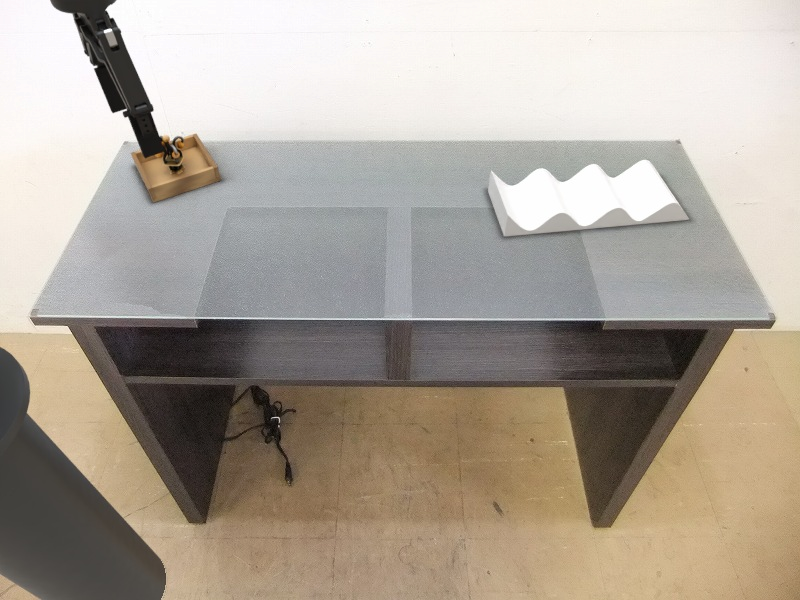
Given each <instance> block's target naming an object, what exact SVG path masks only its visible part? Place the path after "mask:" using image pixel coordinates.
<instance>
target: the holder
mask: <svg viewBox="0 0 800 600" xmlns="http://www.w3.org/2000/svg"><path fill="white" fill-rule="evenodd" d="M182 137H183V139H184V142H183V143H184V148H182V149H180V148H178V147H177V143H178V142H180V141H181V139H180V138H179V139H177V140H176V141H175V146H176V148H177V149H179V150H180V151H181V152H182V155H184V159H183V161H182V165H183V166H185V168H184V169H181V170H182V171H183V172H182V173H180V174H178V173H177V172H175V173H173V174H171V173H169V170H170V168H169V166H164V165H163V163H164V162H163V156H164V152H162V157H161V158H156V156H155V155H153V156H150V157H148V158H144V156H143V154H142V152H141V149H139V150H135V151H132V152H130V154H131V158H132V160H133V163H134V165H135V168H136V170H137V172H138V174H139V175H140V178H141V179H142V182H143V184H144V186H145V188H146V191H147V192H148V194H149V196H150V199H151V201H152V203H156V202H159V201H160V202H161V201H163V200H167V199H169V198H172V197H176V196H178V195H181V194H185V193H187V192H190V191H193V190H194V191H195V190H197V189H200V188H203V187H206V186H209V185H212V184H215V183H218V182H221V181H222V178H221V174H220V171H219V167H218V165H217V163H216V161H215V160H214V159H213V157H212V156H211V154H210V153H209V151H208V149H207V148H206V146H205V145H204V143H203V142H202V140H201V138H200V137H199V134H197V133H193V134H190V135H187V136H182ZM172 142H173V140H170V141H169V144H170V145H173V144H172ZM166 150H167V149H166ZM173 151H174V149H173ZM169 153H170V152H169ZM178 153H179V152H178ZM179 155H180V153H179ZM167 156H168V155H167ZM167 156H166V157H167Z"/></svg>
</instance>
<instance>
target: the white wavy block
mask: <svg viewBox="0 0 800 600" xmlns="http://www.w3.org/2000/svg"><path fill="white" fill-rule="evenodd" d="M487 193H488V195H489V198H490V201H491V203H492V208H493V209H494V213H495V216H496V218H497V221H498V223H499V227H500V230H501V232H502V235H503V237H514V236H515V237H516V236H525V235H527V236H528V235H537V234H548V233H558V232H569V231H570V232H571V231H581V230H592V229H603V228H612V227H613V228H614V227H615V228H616V227H624V226H625V227H626V226H635V225H645V224H646V225H647V224H657V223H659V224H660V223H666V222H667V223H668V222H681V221H689V220H690V218H689V217H688V215H687V212H685V209H683V207H682V205H680V203H679V201H678V200H677V199H676V197H675V196H674V194H673V193H672V191H671V189H670V188H669V187H668V185H667V184H666V182H665V181H664V179H663V178H662V176H661V175H660V173H659V172H658V170H657V169H656V167H655V165H654V164H653V163H652V162H651V161H649V160H648V159H642V160H639V161H637V162H636V163H635V164H633V165H631V166H630V167H629V168H627V169H626V170H624V171H623V172H621V173H619V174H618V175H616V176H614V177H612V176H610V175H608V174H607V173H606V172H605V171H604V170H603V169H602V167H601V166H600V165H598V164H596V163H591V164H588V165H586V166H585V167H583V168H582V169H581V170H580V171H578V172H577V173H576V174H575V175H573V176H572V177H571V178H570V179H568V180H565V181H560V180H558V179H557V178H556V177H555V176H554V175H553V174H551V172H550V171H549V170H547V169H546V168H542V167H541V168H537V169H535V170H534V171H532V172H530V173H529V174H528V175H527V176H526V177H525V178H524V179H522V180H521V181H520V182H518V183H516V184H514V185H509V184H507V183H506V182H505V181H503V180H502V179H501V178H500V177H499V176H497V174H496V173H495V172H494V171H493V170H492V169H490V173H489V180H488V188H487Z"/></svg>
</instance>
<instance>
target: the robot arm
mask: <svg viewBox="0 0 800 600" xmlns="http://www.w3.org/2000/svg"><path fill="white" fill-rule="evenodd" d="M49 1H50V4H51V5H52V7H53V8H54V9H55V10H57V11H59V12H61V13H65V14H71V15H72V18H73V21H74V25H75V26H76V27H75V28H76V30H77V32H78V35H79V38H80V41H81V45H82V48H83V53H84V55H86V56H87V57H89V63H90V64H91V65H92V66H93V67H94V68H93V71H94V73H95V75H96V78H97V80H98V83H99V85H100V88H101V89H102V93H103V95H104V97H105V99H106V102H107V104H108V107H109V110H110V112H111V113H112V114H115V113H118V112H121V111H122V116H123V117H124V119H126V118H128V121H129V123H130V126H131V129H132V131H133V133H134V136H135V139H136V141H137V143H138V146H139V150H141V152H142V154H143V156H144V158H148V157H150V156H153V155H156V154H159V153H162V152H164V148H163V145H162V142H161V139H160V134H159V131H158V128H157V125H156V123H155V120H154V117H153V115H152V112H153V113H154V105H153V104H152V103H151V101H150V98H149V96H148V94H147V91H146V89H145V87H144V85H143V82H142V80H141V78H140V76H139V73H138V71H137V69H136V67H135V63H134V62H133V59H132V58H131V55H130V52H129V49H128V48H127V46H126V44H125V41H124V38H123V35H122V30H121V28H119V26H118V24H117V22H116V20H115V18H114V17H111V16H110V14H109V12H108V10H107V8H108V7H110V6H112V5H113V4H115V3H117V0H49Z"/></svg>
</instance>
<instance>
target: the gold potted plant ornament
mask: <svg viewBox="0 0 800 600" xmlns="http://www.w3.org/2000/svg"><path fill="white" fill-rule="evenodd" d="M159 137H160V139H161V142H162V145H163V148H164V156H163V162H164V163H163V165H164V166H169V168H170V170H169V173H171V174H173V173H175V172H177V173H178V174H180V173H182V172H183V171H182V170H181V169H184V168H185V166H183V165H182V161H183V159H184V155H182V152H181V151H180V150H179V149H177V148H176V146H175V141H176V140H177V139H179V138H180V139H181V141H180V142H178V143H177V147H178V148H180V149H182V148H184V143H183V142H184V139H183V137H184V136H182V135H176V136H174V138H173V139H172V141H173V142H172V144H173V145H170V144H169V141H171V139H170V136H169V135H168V134H164V135H159ZM166 149H167V150H166ZM173 149H174V151H173ZM169 152H170V153H169ZM178 152H179V153H180V155H179V153H178ZM167 155H168V156H167ZM155 156H156V158H161V157H162V153H159V154H156V155H155ZM166 156H167V157H166Z"/></svg>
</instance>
